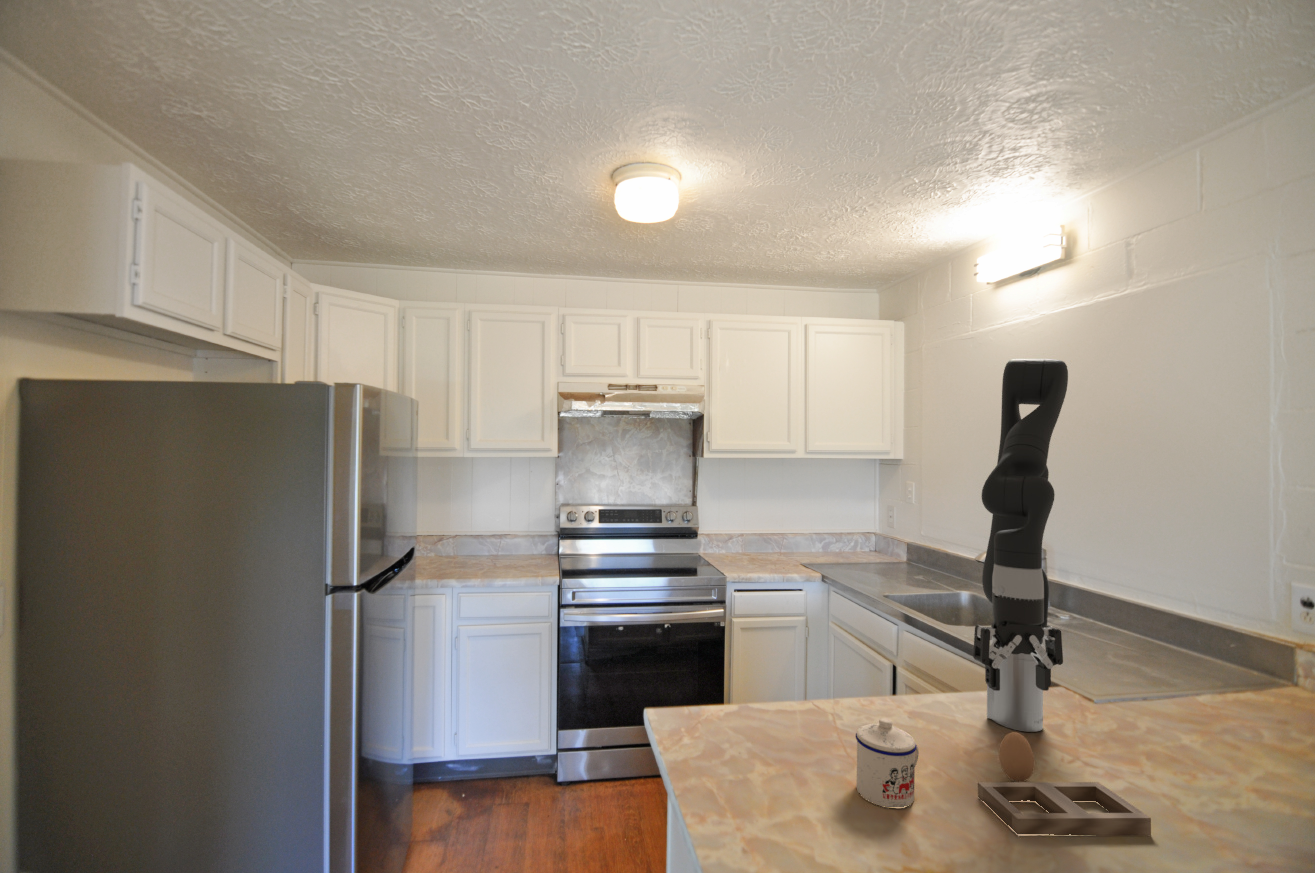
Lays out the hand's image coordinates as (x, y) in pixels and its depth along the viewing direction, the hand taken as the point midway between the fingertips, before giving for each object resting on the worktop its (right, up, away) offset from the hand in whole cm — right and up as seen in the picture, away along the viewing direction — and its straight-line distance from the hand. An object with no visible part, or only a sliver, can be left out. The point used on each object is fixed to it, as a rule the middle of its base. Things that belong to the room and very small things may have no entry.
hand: (1017, 688), depth 100 cm
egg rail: (0, -15, -10) cm, 18 cm away
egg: (-1, -15, -1) cm, 16 cm away
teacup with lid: (-24, -15, -5) cm, 28 cm away
